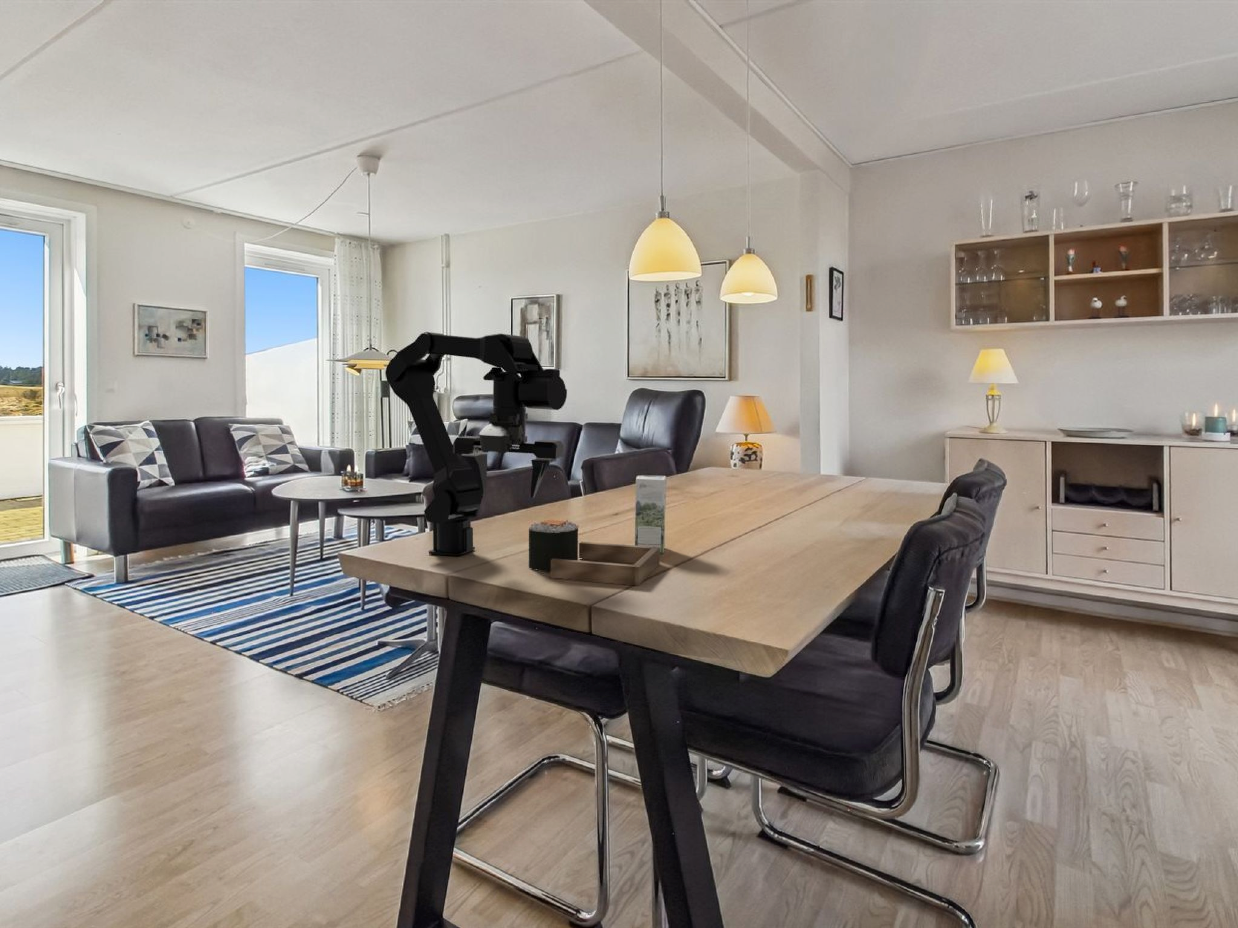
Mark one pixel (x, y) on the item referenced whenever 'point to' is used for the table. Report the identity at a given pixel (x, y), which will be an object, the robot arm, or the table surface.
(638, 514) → the syrup box
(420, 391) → the robot arm
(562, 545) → the sushi
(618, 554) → the tray
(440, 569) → the table surface
